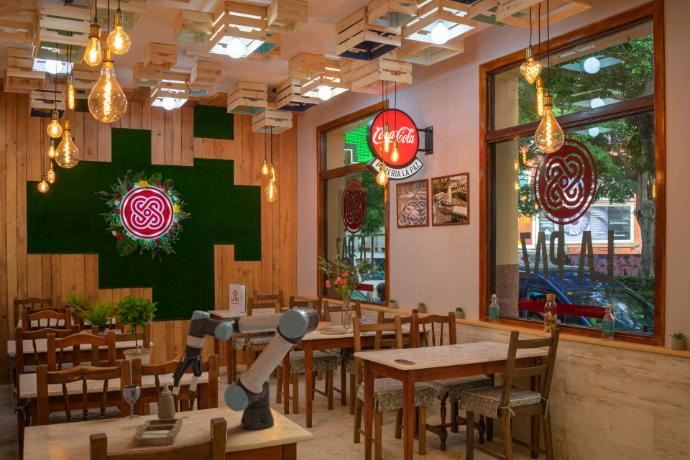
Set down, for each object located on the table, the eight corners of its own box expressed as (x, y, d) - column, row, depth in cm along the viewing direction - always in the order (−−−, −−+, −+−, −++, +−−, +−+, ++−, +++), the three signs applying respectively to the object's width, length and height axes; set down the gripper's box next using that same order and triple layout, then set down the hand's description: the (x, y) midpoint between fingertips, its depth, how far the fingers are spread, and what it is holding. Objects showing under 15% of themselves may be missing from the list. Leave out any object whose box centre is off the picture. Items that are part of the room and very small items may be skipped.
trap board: (146, 426, 300) (146, 419, 300) (182, 424, 302) (182, 417, 302) (132, 447, 268) (132, 439, 268) (172, 444, 270) (172, 436, 270)
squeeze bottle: (170, 424, 302) (169, 385, 302) (154, 424, 303) (153, 385, 304) (178, 420, 310) (177, 382, 310) (162, 419, 311) (162, 382, 312)
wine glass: (133, 414, 324) (133, 384, 325) (144, 416, 320) (143, 385, 320) (120, 418, 318) (119, 387, 318) (130, 420, 313) (129, 388, 314)
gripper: (202, 342, 305) (192, 386, 304) (171, 344, 281) (160, 393, 280) (215, 346, 302) (205, 391, 301) (185, 349, 279) (174, 398, 278)
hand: (183, 392), depth 291 cm, fingers open, 13 cm apart
